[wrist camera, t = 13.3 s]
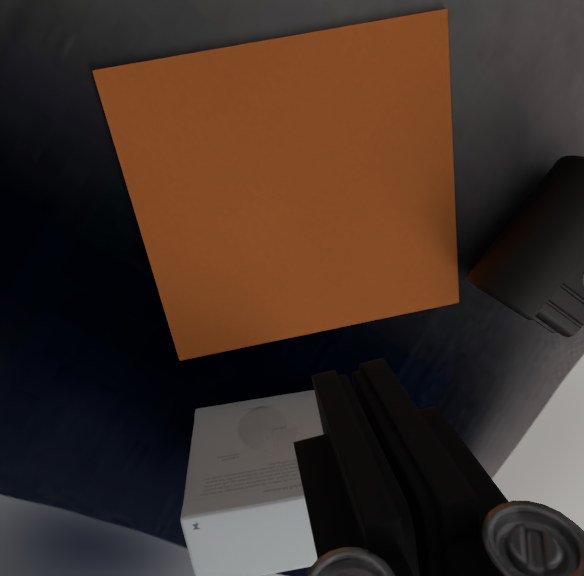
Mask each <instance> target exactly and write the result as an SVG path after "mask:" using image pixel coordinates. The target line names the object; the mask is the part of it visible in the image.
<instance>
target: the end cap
mask: <svg viewBox="0 0 584 576" xmlns="http://www.w3.org/2000/svg"><path fill="white" fill-rule="evenodd" d="M583 275H584V157H582V156H565V157H562V158H560V159H559V160H558V161H557V162H556V163H555V164H554V166H553V167H552V168H551V169H550V171H549V172H548V173H547V175H546V176H545V177H544V178H543V180H542V181H541V182H540V183H539V185H538V186H537V187H536V189H535V190H534V191H533V192H532V194H531V195H530V196H529V197H528V199H527V200H526V201H525V202H524V204H523V205H522V206H521V208H520V209H519V210H518V211H517V213H516V214H515V215H514V216H513V218H512V219H511V220H510V221H509V223H508V224H507V225H506V227H505V228H504V229H503V230H502V232H501V233H500V234H499V235H498V237H497V238H496V239H495V241H494V242H493V243H492V244H491V246H490V247H489V248H488V249H487V251H486V252H485V253H484V254H483V256H482V257H481V258H480V260H479V261H478V262H477V263H476V265H475V266H474V267H473V268H472V270H471V271H470V272H469V273H468V275H467V279H468V280H469V281H470V282H471V283H472V284H474V285H475V286H477V287H478V288H479V289H481V290H482V291H484V292H485V293H487V294H489V295H490V296H492V297H493V298H495V299H496V300H498V301H500V302H501V303H503V304H504V305H506V306H507V307H509V308H511V309H512V310H514V311H515V312H517V313H518V314H520V315H522V316H523V317H525V318H526V319H528V320H534V321H536V322H537V323H539V324H540V325H541V326H543V327H544V328H546V329H547V330H549V331H550V332H551V333H559V334H561V335H563V336H565V337H570V336H573V335H575V334H576V333H577V332H578V331H579V329H580V328H581V327H582V326H583V325H584V286H583Z"/></svg>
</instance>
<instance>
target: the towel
mask: <svg viewBox="0 0 584 576" xmlns="http://www.w3.org/2000/svg"><path fill="white" fill-rule="evenodd" d="M92 72H93V75H94V79H95V82H96V85H97V89H98V92H99V95H100V99H101V102H102V105H103V109H104V112H105V115H106V119H107V122H108V125H109V129H110V132H111V135H112V138H113V142H114V145H115V148H116V152H117V155H118V158H119V162H120V165H121V168H122V172H123V175H124V178H125V182H126V185H127V188H128V192H129V195H130V198H131V202H132V205H133V208H134V211H135V215H136V218H137V221H138V225H139V228H140V231H141V235H142V238H143V241H144V245H145V248H146V251H147V255H148V258H149V261H150V265H151V268H152V271H153V274H154V278H155V281H156V284H157V288H158V291H159V294H160V298H161V301H162V304H163V308H164V311H165V314H166V318H167V321H168V324H169V328H170V331H171V334H172V338H173V341H174V344H175V347H176V351H177V354H178V357H179V360H180V361H181V360H186V359H190V358H195V357H200V356H205V355H210V354H214V353H219V352H224V351H229V350H234V349H238V348H243V347H248V346H253V345H258V344H262V343H267V342H272V341H277V340H281V339H286V338H291V337H296V336H301V335H305V334H310V333H315V332H320V331H325V330H329V329H334V328H339V327H344V326H349V325H353V324H358V323H363V322H368V321H373V320H377V319H382V318H387V317H392V316H397V315H401V314H406V313H411V312H416V311H421V310H425V309H430V308H435V307H440V306H445V305H449V304H454V303H459V288H458V264H457V239H456V214H455V189H454V164H453V139H452V114H451V89H450V64H449V39H448V15H447V9H441V10H436V11H430V12H424V13H418V14H413V15H407V16H401V17H396V18H390V19H384V20H378V21H373V22H367V23H361V24H355V25H350V26H344V27H338V28H333V29H327V30H321V31H315V32H310V33H304V34H298V35H292V36H287V37H281V38H275V39H270V40H264V41H258V42H252V43H247V44H241V45H235V46H229V47H224V48H218V49H212V50H207V51H201V52H195V53H189V54H184V55H178V56H172V57H166V58H161V59H155V60H149V61H143V62H138V63H132V64H126V65H121V66H115V67H109V68H103V69H98V70H92Z"/></svg>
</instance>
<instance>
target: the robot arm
mask: <svg viewBox="0 0 584 576" xmlns="http://www.w3.org/2000/svg"><path fill="white" fill-rule="evenodd" d="M352 378H353V384H354V390H355V392H354V390H353V388H352V386H351V384H350V382H349V380H348V377H347V375H346V374H343V375H339V376H338V375H337V373H336V371H335V370H332V371H328V372H324V373H320V374H316V375H312V381H313V386H314V391H315V396H316V400H317V405H318V410H319V415H320V420H321V425H322V429H323V435H319V436H315V437H311V438H308V439H304V440H300V441H296V442H293V443H294V449H295V453H296V458H297V463H298V468H299V473H300V477H301V482H302V487H303V492H304V497H305V501H306V506H307V511H308V516H309V521H310V525H311V530H312V535H313V540H314V544H315V549H316V554H317V560H316V562H315V563H314V564H313V565H312V566H311V567H310V569H309V570H308V572H307V574H306V576H584V531H583V530H582V529H581V528H580V527H579V526H578V525H576V524H575V523H574V522H573V521H571V520H570V519H569V518H567V517H566V516H565V515H563V514H562V513H561V512H559V511H556V510H554V509H552V508H550V507H548V506H546V505H543V504H539V503H534V502H530V501H511V502H508V500H507V499H506V498H505V497H504V495H503V494H502V493H501V491H500V490H499V488H498V487H497V486H496V484H495V483H494V482H493V480H492V479H491V478H490V476H489V475H488V474H487V473H486V471H485V470H484V469H483V467H482V466H481V465H480V463H479V462H478V461H477V459H476V458H475V457H474V455H473V454H472V453H471V451H470V450H469V449H468V447H467V446H466V445H465V443H464V442H463V441H462V439H461V438H460V437H459V435H458V434H457V433H456V431H455V430H454V429H453V427H452V426H451V425H450V423H449V422H448V421H447V419H446V418H445V417H444V415H443V414H442V413H441V411H440V410H439V409H438V408H437V407H434V406H432V407H429V408H425V409H421V410H418V408H417V407H416V405H415V404H414V402H413V401H412V399H411V398H410V396H409V395H408V393H407V392H406V390H405V389H404V388H403V386H402V385H401V383H400V382H399V380H398V379H397V377H396V376H395V374H394V373H393V371H392V370H391V368H390V367H389V365H388V364H387V362H386V361H385V360H384V359H383V358H381V359H377V360H373V361H369V362H365V363H361V364H359V371H355V372H352Z"/></svg>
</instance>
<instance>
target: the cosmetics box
mask: <svg viewBox="0 0 584 576" xmlns="http://www.w3.org/2000/svg"><path fill="white" fill-rule="evenodd" d="M319 435H323V429H322V425H321V420H320V415H319V410H318V405H317V400H316V396H315V391H314V390H311V391H304V392H298V393H291V394H285V395H278V396H272V397H266V398H260V399H253V400H247V401H241V402H235V403H229V404H223V405H217V406H210V407H205V408H198V409H196V410H195V416H194V426H193V433H192V441H191V448H190V456H189V463H188V470H187V478H186V486H185V494H184V503H183V507H182V512H181V519H180V521H181V525H182V528H183V533H184V536H185V540H186V544H187V548H188V551H189V555H190V559H191V563H192V567H193V571H194V575H195V576H263V575H268V574H273V573H278V572H284V571H289V570H294V569H300V568H305V567H310V566H312V565H313V564H314V563H315V562H316V560H317V554H316V549H315V544H314V540H313V535H312V530H311V525H310V521H309V516H308V511H307V506H306V501H305V497H304V492H303V487H302V482H301V477H300V473H299V468H298V463H297V458H296V453H295V449H294V443H293V442H296V441H300V440H304V439H308V438H311V437H315V436H319Z"/></svg>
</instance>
